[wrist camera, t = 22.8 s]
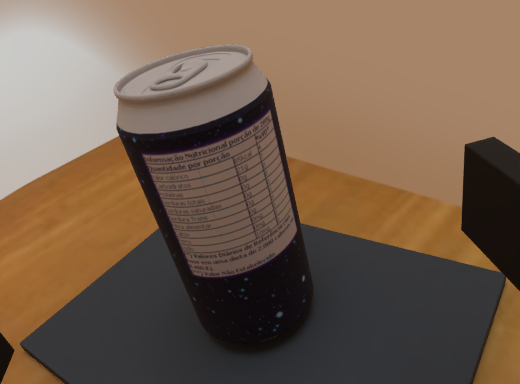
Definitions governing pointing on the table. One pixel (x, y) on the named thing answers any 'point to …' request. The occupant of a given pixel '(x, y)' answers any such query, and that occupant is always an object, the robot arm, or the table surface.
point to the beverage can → (219, 188)
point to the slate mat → (292, 340)
